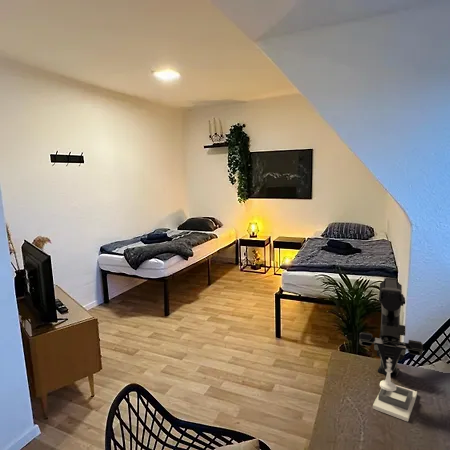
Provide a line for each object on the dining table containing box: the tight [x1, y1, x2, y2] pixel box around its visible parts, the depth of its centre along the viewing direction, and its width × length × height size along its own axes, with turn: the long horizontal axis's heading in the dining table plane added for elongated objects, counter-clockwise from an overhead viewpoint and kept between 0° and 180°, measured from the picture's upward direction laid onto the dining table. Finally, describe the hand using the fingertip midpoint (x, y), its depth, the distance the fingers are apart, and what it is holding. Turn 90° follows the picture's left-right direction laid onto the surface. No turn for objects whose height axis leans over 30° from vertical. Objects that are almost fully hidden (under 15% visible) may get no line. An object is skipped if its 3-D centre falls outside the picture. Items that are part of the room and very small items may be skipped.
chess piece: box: [379, 358, 397, 391], centre depth 106 cm, size 5×5×10 cm
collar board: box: [372, 384, 418, 422], centre depth 107 cm, size 16×10×3 cm, turn 141°
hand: (388, 369), depth 104 cm, fingers closed on chess piece
